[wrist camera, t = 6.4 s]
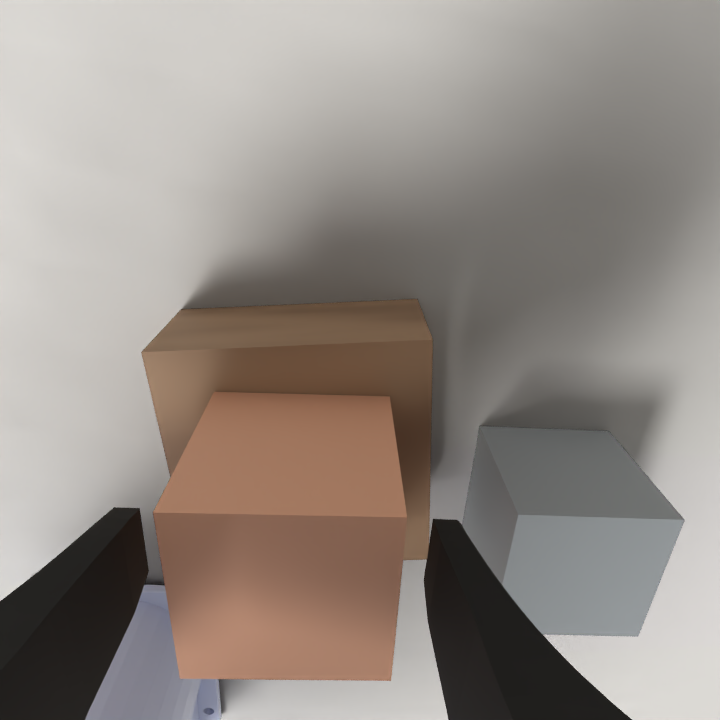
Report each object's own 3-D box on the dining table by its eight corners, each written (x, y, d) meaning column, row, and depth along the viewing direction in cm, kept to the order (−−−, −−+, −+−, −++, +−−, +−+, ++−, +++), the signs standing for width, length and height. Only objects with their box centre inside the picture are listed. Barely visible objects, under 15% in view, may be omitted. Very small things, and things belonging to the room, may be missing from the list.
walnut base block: (415, 484, 21) (428, 559, 17) (219, 492, 21) (192, 569, 17) (416, 295, 18) (433, 339, 14) (184, 306, 18) (141, 352, 14)
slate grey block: (577, 530, 22) (638, 636, 17) (461, 526, 22) (490, 633, 17) (607, 429, 20) (684, 519, 15) (479, 424, 20) (518, 514, 15)
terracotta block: (380, 530, 17) (390, 680, 12) (226, 527, 17) (179, 678, 12) (389, 396, 15) (407, 517, 10) (214, 391, 15) (152, 512, 10)
